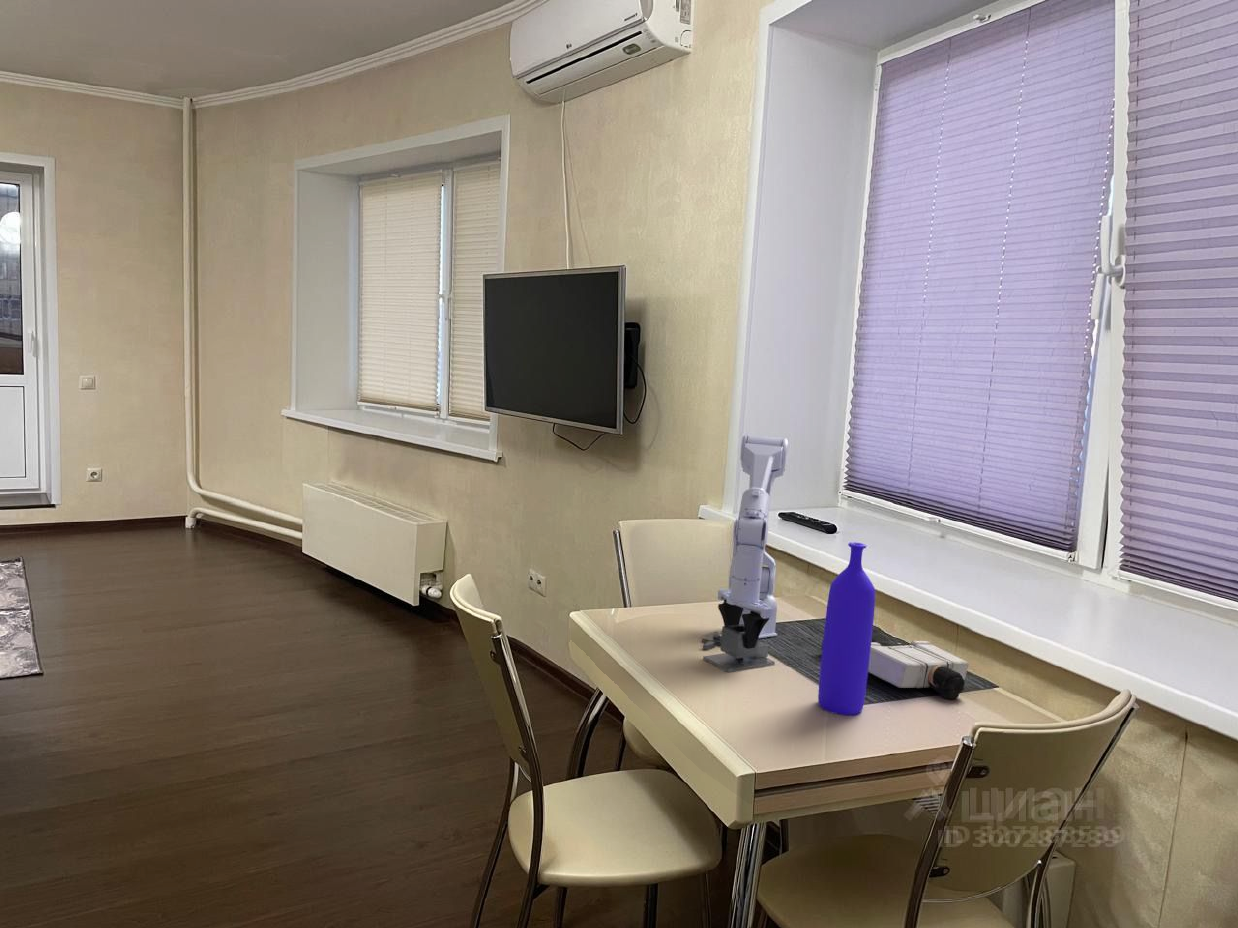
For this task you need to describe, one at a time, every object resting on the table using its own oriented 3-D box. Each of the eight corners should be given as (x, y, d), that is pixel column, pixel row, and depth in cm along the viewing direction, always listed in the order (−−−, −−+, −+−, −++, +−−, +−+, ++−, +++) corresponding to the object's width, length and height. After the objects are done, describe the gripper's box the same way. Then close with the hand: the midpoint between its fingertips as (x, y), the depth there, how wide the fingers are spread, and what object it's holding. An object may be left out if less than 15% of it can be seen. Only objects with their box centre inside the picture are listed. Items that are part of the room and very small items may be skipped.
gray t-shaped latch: (711, 636, 206) (711, 628, 205) (732, 641, 203) (733, 633, 203) (693, 647, 197) (694, 638, 197) (715, 652, 195) (716, 643, 195)
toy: (810, 654, 197) (920, 708, 172) (815, 621, 197) (927, 671, 171) (875, 650, 207) (989, 701, 182) (880, 619, 207) (995, 666, 181)
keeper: (750, 651, 197) (752, 635, 196) (776, 664, 190) (778, 647, 190) (703, 659, 190) (704, 641, 190) (728, 672, 184) (729, 654, 183)
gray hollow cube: (740, 647, 193) (743, 623, 193) (756, 655, 189) (759, 631, 188) (720, 649, 191) (722, 626, 190) (736, 658, 186) (738, 634, 185)
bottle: (865, 719, 165) (883, 551, 161) (816, 712, 166) (833, 545, 162) (862, 702, 173) (880, 541, 169) (816, 695, 174) (832, 536, 171)
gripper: (708, 569, 192) (702, 634, 193) (755, 588, 180) (748, 656, 181) (735, 567, 196) (729, 630, 197) (782, 585, 183) (776, 652, 185)
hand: (740, 643), depth 190 cm, fingers closed on gray hollow cube, 5 cm apart
